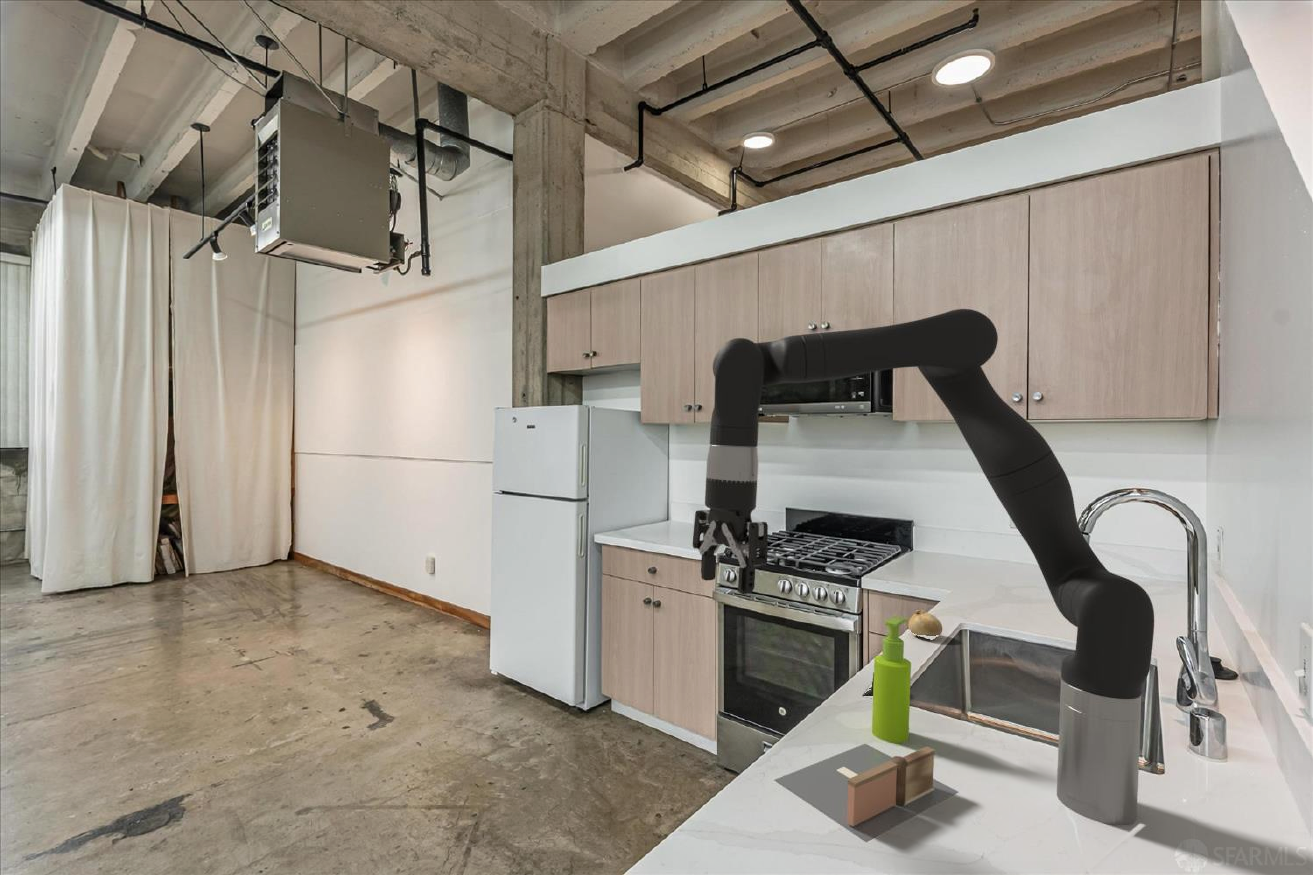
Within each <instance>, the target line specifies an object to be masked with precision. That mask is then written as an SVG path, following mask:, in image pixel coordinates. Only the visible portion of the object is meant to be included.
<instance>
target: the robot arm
mask: <svg viewBox="0 0 1313 875" xmlns="http://www.w3.org/2000/svg"><path fill="white" fill-rule="evenodd" d="M997 331H998V330H997V328H996V327H995V325H994V323H993V321H992V320H991V319H990V317H988V316H986V314H984V313H982V312H980V311H978V310H974V309H969V308H958V309H954V310H953V309H951V310H949V311H947V312H943V313H941V314H936V315H932V316H929V317H925V318H921V319H917V320H912V321H906V322H902V323H897V324H891V325H884V326H878V327H877V326H876V327H868V328H860V329H849V330H848V329H847V330H838V331H828V332H827V331H826V332H816V333H805V334H797V335H790V336H786V337H782V338H780V339H778V340H774V341H763V342H754V341H752V340H750V339H748V338H744V337H737V338H736V337H735V338H733V339H730V340H728V341H726V342H725V343H723V345H721V346H720V348H719V349H718V350H717V352H716V354H715V356H714V358H713V361H712V362H713V363H712V372H713V376H714V406H713V410H712V413H711V420H710V428H709V429H710V430H709V447H708V453H707V458H706V472H705V473H706V474H705V491H704V492H705V493H704V505H705V507H706V508H708V509H701V510H699V509H698V510H696V511H695V514H694V523H693V524H694V525H693V536H692V547H693V549H696V550H697V549H698V552H699V554H700V555H701V560H700V561H701V564H700V566H701V567H700V573H701V574H700V575H701V579H702V580H703V581H706V582H707V581H713V580H715V579H716V575H717V574H716V572H717V555H716V553H718V552H717V551H718V550H719V549H720V547H721V546H722V545H724V546H725V547H728V548H730V550H731V553H732V554H734V555H736V558H737V561H738V563H739V567H738V582H737V583H738V585H737V592H738V593H739V594H740V595H741V594H742V595H748V594H752V593H753V591H754V589H755V584H756V583H755V582H756V568H757V567H759V566H766V565H767V564H768V541H769V539H768V538H769V536H768V534H769V533H768V532H769V531H768V530H769V529H768V528H769V526H768V523H767V522H766V521H756V522H755V521H752V512H753V511H754V510H755V509H756V507H757V496H758V495H757V493H758V474H759V473H758V472H759V455H758V453H759V452H758V445H759V444H758V442H759V441H758V440H759V410H760V404H761V397H762V392H763V388H764V387H769V386H774V385H779V384H780V385H781V384H802V383H803V384H804V383H814V382H824V381H833V380H839V379H840V380H841V379H845V378H851V377H855V376H860V375H861V376H862V375H865V374H869V373H871V374H872V373H874V372H875V373H876V372H880V371H887V370H893V369H903V368H917V369H918V370H919V371H920V373H921V374H922V376H923V377H924V378H925V380H926V381H927V383H928V384H929V385H930V387H931V388H932V389H933V390H934V392H935V393H936V395H937V396H938V398H939V399H940V400H941V402H942V403H943V404H944V406H945V407H946V409H947V410H948V412H949V414H950V415H951V417H952V418H953V419H954V422H955V423H956V425H957V427H958V429H959V431H960V433H961V435H962V436H963V438H964V440H965V442H966V443H967V446H968V447H969V448H970V451H971V452H972V454H973V455H974V458H976V461H977V462H978V465H979V468H980V469H981V470H982V472H983V474H984V476H985V477H986V479H987V481H988V483H989V485H990V486H991V488H992V490H993V492H994V493H995V496H997V499H998V500H999V501H1000V503H1001V506H1003V508H1004V509H1005V512H1006V513H1007V515H1008V516H1009V518H1010V520H1011V521H1012V523H1013V524H1014V526H1015V528H1016V529H1017V530H1018V532H1019V534H1020V535H1021V537H1022V538H1023V540H1024V541H1025V543H1026V544H1027V546H1028V547H1029V549H1030V551H1031V553H1032V554H1033V556H1034V559H1035V560H1036V562H1037V564H1038V567H1039V569H1040V572H1041V573H1042V574H1041V575H1042V576H1043V579H1044V580H1045V583H1046V585H1047V588H1048V590H1049V593H1050V595H1051V596H1052V599H1053V602H1054V603H1055V607H1056V608H1057V610H1058V611H1059V613H1060V615H1062V616H1063V617H1064V618H1065V619H1066V620H1067V622H1069V623H1070V624H1071V625H1073V626H1074V627H1076V630H1077V632H1076V640H1075V641H1076V644H1075V651H1074V654H1070V655H1067V656H1065V657H1064V658H1063V659H1062V661H1061V669H1060V670H1061V671H1060V674H1061V675H1060V693H1059V694H1060V695H1059V700H1060V701H1059V720H1058V721H1059V723H1058V724H1059V725H1058V748H1057V750H1058V751H1057V752H1058V753H1057V754H1058V755H1057V774H1056V776H1057V777H1056V796H1057V798H1058V800H1059V802H1060V803H1061V804H1062V805H1064V806H1065V807H1066V808H1068V810H1070V811H1072V812H1074V813H1076V814H1077V815H1080V816H1082V817H1084V818H1086V819H1089V820H1091V821H1095V822H1098V823H1102V824H1104V825H1105V824H1107V825H1110V826H1111V825H1112V826H1120V827H1121V826H1123V827H1125V826H1130V825H1133V824H1134V823H1136V822H1137V816H1138V792H1139V772H1140V771H1139V770H1140V769H1139V768H1140V766H1139V765H1140V742H1141V740H1140V738H1141V737H1140V736H1141V720H1142V719H1141V715H1142V714H1141V711H1142V710H1141V709H1142V693H1143V692H1142V691H1143V690H1142V689H1143V684H1144V682H1145V681H1146V679H1147V678H1148V676H1149V673H1150V671H1151V670H1150V669H1151V663H1152V654H1153V652H1152V651H1153V644H1154V643H1153V642H1154V634H1155V633H1154V631H1155V611H1154V605H1153V603H1152V600H1151V598H1150V595H1149V594H1148V593H1147V591H1146V590H1145V589H1144V588H1143V587H1142V586H1141V585H1139V584H1138V583H1137V582H1135V581H1133V580H1131V579H1129V578H1126V577H1123V576H1122V575H1118V574H1117V573H1114V572H1111V571H1109V569H1107V568H1106V567H1105V566H1104V564H1103V563H1102V562H1101V561H1100V559H1099V558H1098V557H1097V555H1096V554H1095V552H1094V550H1093V549H1092V547H1091V546H1090V544H1089V543H1088V542H1087V540H1086V538H1085V536H1084V535H1083V533H1082V530H1081V528H1080V526H1079V523H1078V519H1077V513H1076V507H1075V500H1074V495H1073V490H1072V485H1071V484H1070V481H1069V478H1068V476H1067V474H1066V472H1065V470H1064V469H1063V467H1062V465H1061V463H1060V462H1059V460H1058V458H1057V456H1056V455H1055V453H1054V451H1053V449H1051V446H1050V445H1049V444H1048V442H1047V441H1046V439H1045V438H1044V437H1043V435H1042V434H1041V433H1040V432H1039V430H1038V429H1036V428H1035V427H1034V426H1033V425H1032V424H1030V422H1028V421H1027V420H1026V419H1025V418H1024V417H1023V416H1021V415H1020V414H1019V413H1018V412H1017V411H1015V409H1013V408H1012V407H1011V406H1010V404H1008V402H1005V400H1004V399H1003V398H1002V397H1001V396H1000V395H999V394H998V392H997V391H996V390H995V389H994V387H993V385H992V384H991V382H990V380H989V379H988V377H987V375H986V374H985V372H984V370H983V368H982V366H983V365H984V364H986V363H987V362H988V361H989V360H990V359H991V358H992V356H993V355H994V354H995V351H996V350H997V346H998V342H999V341H998V340H999V338H998V337H999V334H998V332H997ZM701 534H703V535H702V540H701ZM746 556H747V557H746Z"/></svg>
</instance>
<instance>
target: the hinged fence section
mask: <svg viewBox="0 0 1313 875" xmlns="http://www.w3.org/2000/svg"><path fill="white" fill-rule="evenodd" d="M897 769H898V765H897V764H895V763H893V762H891V761H888V762H886V763H884V764H881V765H879V766H877V767H875V768H872V769H870V770H868V771H866V772H863V773H861V774H859V775H856V776H854V777H852V778H850V779H848V803H847V823H849V824H850V825H852V826H855V825H857V824H859V823H861V822H863V821H865V820H867V819H869V818H871V817H873V816H875V815H877V814H879V813H881V812H883V811H885V810H887V809H889V808H891V807H893V806H894V805H896V779H897Z"/></svg>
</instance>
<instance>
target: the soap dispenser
mask: <svg viewBox="0 0 1313 875" xmlns="http://www.w3.org/2000/svg"><path fill="white" fill-rule="evenodd" d="M905 623H909V619H906V618H902V617H897V616H892V617H891V618H888V620H885V626H888V631H887V632H888V634H887V636H885V637H883V639H882V654H877V655H876V656H875V657H874V660H873V661H874V662H873V673H874V685H873V699H872V716H871V718H872V719H871V720H872V721H871V722H872V723H871V733H872V735H873V736H875V737H876V738H878V739H879V740H881V741H883V742H886V743H887V742H888V743H894V744H903V743H905V742H907V741H909V733H910V709H911V708H910V706H911V705H910V703H911V702H910V701H911V679H912V678H911V677H912V676H911V675H912V674H911V673H912V672H911V671H912V662H911V661H910V660H909V659H907V658H904V648H905V647H904V645H905V641H904V640H903V639H902V638H900V626H901V625H903V624H905Z"/></svg>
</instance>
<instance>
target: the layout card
mask: <svg viewBox="0 0 1313 875" xmlns="http://www.w3.org/2000/svg"><path fill="white" fill-rule="evenodd" d="M888 761H891V762H893V756H890V755H888V754H886V753H885V752H882V751H881V750H879V749H878V748H875V747H873V746H872V745H871V746H870V745H869V744H867V743H863V744H860V745H858V746H856V747H852V748H851V749H848V750H846V751H843V752H841V753H838V754H836V755H835V754H834V755H832V756H830V757H828V758H825V759H823V760H820V761H818V762H816V763H813V764H810V765H807V766H806V767H803V768H800V769H798V770H796V771H793V772H791V773H788V774H786V775H784V776H781V777H777V778H776V779H773V781H775V782H776V783H777V784H779V785H780V786H782V787H783V788H784V789H786V790H788V791H789V792H791V793H793V794H794V795H795V796H796V797H798V798H800V799H801V800H802V801H804V802H805V803H807V804H808V805H810V806H812V807H813V808H815V809H816V810H817V811H819V812H821V813H822V814H824V815H825V816H826V817H828V818H829V819H831V820H832V821H834V822H835V823H837V824H839V825H840V826H841V827H842V828H844V829H845V830H847V831H849V832H850V833H852V834H853V835H855V836H856V837H858V838H859V839H860V840H862V841H864V842H865V843H867V842H869V841H871V840H872V839H875V838H876V837H878V836H880V835H882V834H883V833H885V832H887V831H889V830H891V829H893V828H894V827H896V826H898V825H900V824H902V823H905V822H906V821H908V820H909V819H911V818H913V817H914V816H917V815H918V814H920V813H922V812H924V811H926V810H928V809H929V808H931V807H934V806H935V805H937V804H939V803H940V802H941V803H942V802H943V801H944V800H946V799H949V797H952V796H954V795H956V794H957V793H959V791H958V790H956V789H954V788H952V787H950V786H948V785H946V784H945V783H943V782H940V781H938V780H936V779H935V778H933V788H931V789H929V790H927V791H925V792H923V793H921V794H919V795H917V796H915V797H913V798H911V799H910V800H908V801H906V802H905V805H904V806H897V805H894V806H893V807H891V808H889V809H887V810H885V811H883V812H881V813H879V814H877V815H875V816H873V817H871V818H869V819H867V820H865V821H863V822H861V823H859V824H857V825H855V826H852V825H850V824H849V823H847V803H848V779H850V778H852V777H854V776H856V775H859V774H861V773H863V772H866V771H868V770H870V769H872V768H875V767H877V766H879V765H881V764H884V763H886V762H888Z"/></svg>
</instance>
